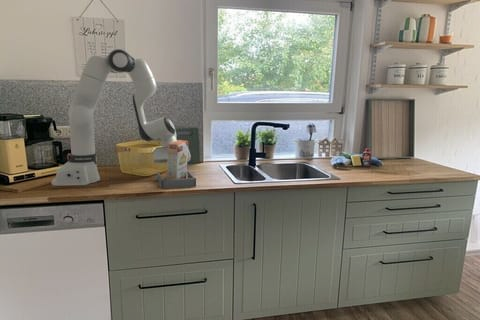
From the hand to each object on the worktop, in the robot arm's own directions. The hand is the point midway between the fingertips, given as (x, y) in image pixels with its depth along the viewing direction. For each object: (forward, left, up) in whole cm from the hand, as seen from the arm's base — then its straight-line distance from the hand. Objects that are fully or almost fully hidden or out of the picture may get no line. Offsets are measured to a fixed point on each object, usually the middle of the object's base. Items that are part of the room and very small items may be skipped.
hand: (173, 168), depth 183 cm
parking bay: (0, -9, -6) cm, 10 cm away
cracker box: (+1, -6, -6) cm, 9 cm away
